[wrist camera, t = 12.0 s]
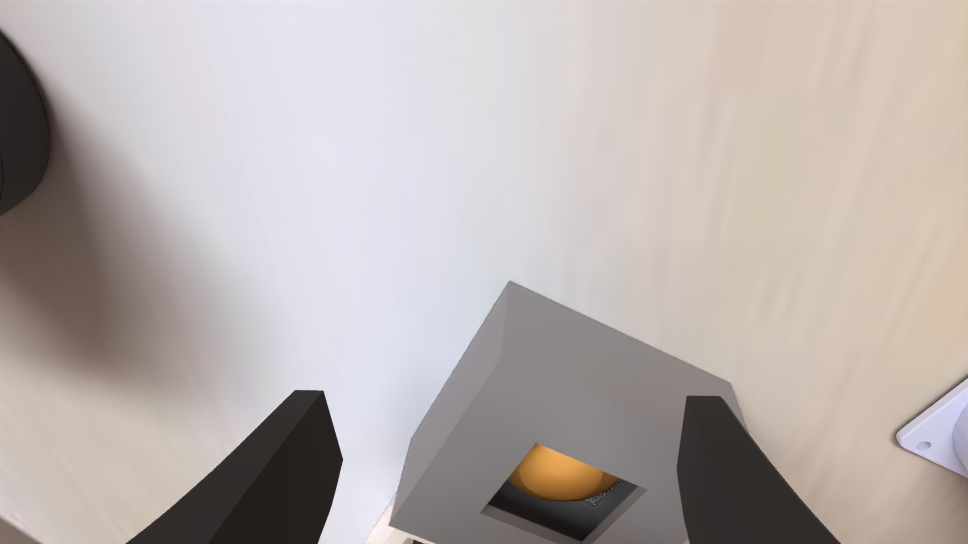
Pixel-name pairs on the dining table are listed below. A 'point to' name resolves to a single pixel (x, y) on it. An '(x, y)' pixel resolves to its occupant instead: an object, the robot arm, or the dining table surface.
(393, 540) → the box
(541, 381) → the box
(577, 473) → the button
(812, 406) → the dining table surface
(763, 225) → the dining table surface
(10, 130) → the pen holder
